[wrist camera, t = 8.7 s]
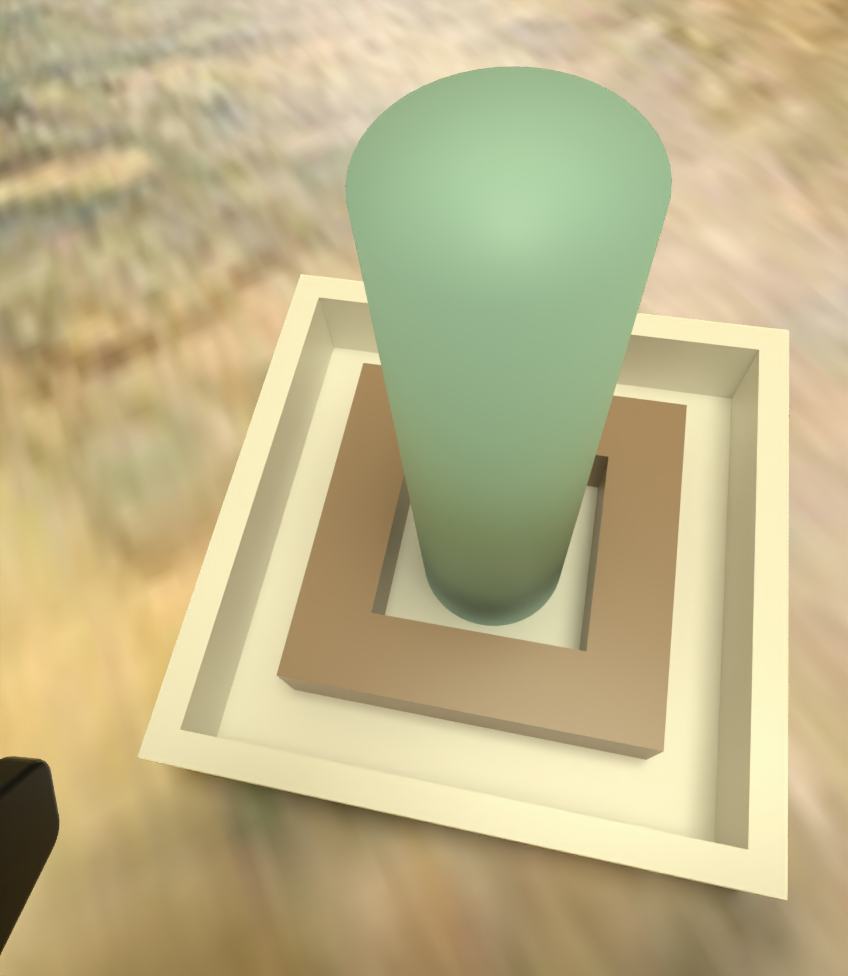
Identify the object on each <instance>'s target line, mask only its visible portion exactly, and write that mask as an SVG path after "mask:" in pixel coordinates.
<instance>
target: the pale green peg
mask: <svg viewBox="0 0 848 976" xmlns="http://www.w3.org/2000/svg"><path fill="white" fill-rule="evenodd" d="M671 186H672V177H671V168H670V163H669V160H668V156H667V153H666V150H665V148H664V146H663V144H662V141H661V139H660V137H659V135H658V134H657V133H656V131H655V130H654V128H653V127H652V126H651V124H650V123H649V121H648V120H647V119H646V118H645V117H644V116H643V115H642V114H641V113H640V112H639V111H638V110H637V109H636V108H634V107H633V106H632V105H631V104H630V103H628V102H627V101H626V100H625V99H623V98H622V97H620V96H618V95H617V94H615V93H613V92H612V91H610V90H609V89H607V88H604V87H602V86H600V85H598V84H596V83H594V82H592V81H589V80H586V79H583V78H580V77H578V76H575V75H571V74H567V73H563V72H559V71H554V70H548V69H541V68H532V67H494V68H486V69H478V70H473V71H468V72H463V73H459V74H455V75H452V76H449V77H445V78H442V79H439V80H437V81H434V82H432V83H429V84H427V85H425V86H422V87H421V88H419V89H417V90H415V91H413V92H411V93H409V94H407V95H406V96H404V97H403V98H401V99H400V100H398V101H397V102H396V103H394V104H393V105H391V106H390V107H389V108H388V109H387V110H386V111H384V112H383V113H382V114H381V115H380V116H379V117H378V118H377V119H376V120H375V121H374V122H373V123H372V124H371V126H370V127H369V128H368V129H367V131H366V132H365V133H364V135H363V136H362V138H361V139H360V141H359V142H358V144H357V146H356V149H355V151H354V153H353V155H352V157H351V160H350V164H349V167H348V170H347V178H346V185H345V187H346V203H347V207H348V212H349V217H350V221H351V226H352V231H353V236H354V240H355V245H356V250H357V254H358V259H359V264H360V268H361V273H362V278H363V282H364V287H365V292H366V297H367V301H368V306H369V311H370V315H371V320H372V325H373V329H374V334H375V339H376V343H377V348H378V353H379V357H380V362H381V367H382V372H383V376H384V381H385V386H386V390H387V395H388V400H389V404H390V409H391V414H392V418H393V423H394V428H395V433H396V437H397V442H398V447H399V451H400V456H401V461H402V465H403V470H404V475H405V479H406V484H407V489H408V494H409V498H410V503H411V508H412V512H413V517H414V522H415V526H416V531H417V536H418V540H419V545H420V550H421V554H422V559H423V564H424V569H425V573H426V578H427V580H428V583H429V586H430V588H431V589H432V591H433V593H434V595H435V596H436V597H437V599H438V600H439V601H440V602H441V603H442V604H443V606H444V607H446V608H447V609H448V610H449V611H450V612H452V613H453V614H455V615H456V616H458V617H460V618H462V619H464V620H466V621H469V622H472V623H475V624H480V625H486V626H501V625H508V624H512V623H516V622H519V621H521V620H524V619H526V618H528V617H529V616H531V615H533V614H534V613H536V612H537V611H538V610H539V609H541V608H542V607H543V606H544V605H545V604H546V602H547V601H548V600H549V599H550V598H551V596H552V594H553V593H554V591H555V589H556V587H557V584H558V582H559V579H560V575H561V572H562V569H563V565H564V562H565V558H566V555H567V551H568V548H569V545H570V541H571V538H572V534H573V531H574V528H575V524H576V521H577V517H578V514H579V510H580V507H581V504H582V500H583V497H584V493H585V490H586V487H587V483H588V480H589V476H590V473H591V469H592V466H593V463H594V459H595V456H596V452H597V449H598V445H599V442H600V439H601V435H602V432H603V428H604V425H605V422H606V418H607V415H608V411H609V408H610V404H611V401H612V398H613V394H614V391H615V387H616V384H617V381H618V377H619V374H620V370H621V367H622V363H623V360H624V357H625V353H626V350H627V346H628V343H629V340H630V336H631V333H632V329H633V326H634V322H635V319H636V316H637V312H638V309H639V305H640V302H641V298H642V295H643V292H644V288H645V285H646V281H647V278H648V275H649V271H650V268H651V264H652V261H653V257H654V254H655V251H656V247H657V244H658V240H659V237H660V234H661V230H662V227H663V223H664V220H665V216H666V213H667V209H668V205H669V201H670V198H671Z"/></svg>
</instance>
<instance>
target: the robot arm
mask: <svg viewBox="0 0 848 976" xmlns="http://www.w3.org/2000/svg"><path fill="white" fill-rule="evenodd" d="M58 831H59V814H58V809H57V803H56V797H55V792H54V786H53V780H52V775H51V770H50V767H49V766H48V764H47V763H46V762H45V761H43V760H41V759H36V758H26V757H16V756H12V757H5V758H2V759H0V954H1V952H2V950H3V948H4V946H5V944H6V942H7V940H8V938H9V936H10V934H11V932H12V930H13V928H14V926H15V924H16V922H17V920H18V918H19V916H20V914H21V912H22V910H23V908H24V906H25V904H26V902H27V900H28V898H29V896H30V894H31V892H32V890H33V888H34V886H35V884H36V882H37V880H38V878H39V876H40V874H41V872H42V870H43V867H44V865H45V863H46V861H47V859H48V857H49V855H50V853H51V851H52V849H53V847H54V845H55V842H56V839H57V836H58Z"/></svg>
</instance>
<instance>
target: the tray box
mask: <svg viewBox="0 0 848 976" xmlns="http://www.w3.org/2000/svg"><path fill="white" fill-rule="evenodd" d="M788 537H789V330H783V329H774V328H765V327H757V326H748V325H739V324H730V323H722V322H713V321H704V320H696V319H687V318H678V317H669V316H661V315H652V314H643V313H637V316H636V319H635V322H634V326H633V329H632V333H631V336H630V340H629V343H628V346H627V350H626V353H625V357H624V360H623V363H622V367H621V370H620V374H619V377H618V381H617V384H616V387H615V391H614V394H613V398H612V401H611V404H610V408H609V411H608V415H607V418H606V422H605V425H604V428H603V432H602V435H601V439H600V442H599V445H598V449H597V452H596V456H595V459H594V463H593V466H592V469H591V473H590V476H589V480H588V483H587V487H586V490H585V493H584V497H583V500H582V504H581V507H580V510H579V514H578V517H577V521H576V524H575V528H574V531H573V534H572V538H571V541H570V545H569V548H568V551H567V555H566V558H565V562H564V565H563V569H562V572H561V575H560V579H559V582H558V584H557V587H556V589H555V591H554V593H553V594H552V596H551V598H550V599H549V600H548V601H547V602H546V604H545V605H544V606H543V607H542V608H541V609H539V610H538V611H537V612H536V613H534V614H533V615H531V616H529V617H528V618H526V619H524V620H521V621H519V622H516V623H512V624H508V625H501V626H486V625H480V624H475V623H472V622H469V621H466V620H464V619H462V618H460V617H458V616H456V615H455V614H453V613H452V612H450V611H449V610H448V609H447V608H446V607H444V606H443V604H442V603H441V602H440V601H439V600H438V599H437V597H436V596H435V595H434V593H433V591H432V589H431V588H430V586H429V583H428V580H427V578H426V573H425V569H424V564H423V559H422V554H421V550H420V545H419V540H418V536H417V531H416V526H415V522H414V517H413V512H412V508H411V503H410V498H409V494H408V489H407V484H406V479H405V475H404V470H403V465H402V461H401V456H400V451H399V447H398V442H397V437H396V433H395V428H394V423H393V418H392V414H391V409H390V404H389V400H388V395H387V390H386V386H385V381H384V376H383V372H382V367H381V362H380V357H379V353H378V348H377V343H376V339H375V334H374V329H373V325H372V320H371V315H370V311H369V306H368V301H367V297H366V292H365V287H364V282H363V281H355V280H346V279H338V278H329V277H320V276H311V275H303V274H301V275H300V278H299V281H298V284H297V287H296V290H295V293H294V296H293V299H292V302H291V305H290V308H289V311H288V313H287V316H286V319H285V322H284V325H283V328H282V331H281V334H280V337H279V340H278V343H277V346H276V349H275V352H274V355H273V358H272V361H271V364H270V367H269V370H268V373H267V376H266V379H265V381H264V384H263V387H262V390H261V393H260V396H259V399H258V402H257V405H256V408H255V411H254V414H253V417H252V420H251V423H250V426H249V429H248V432H247V435H246V438H245V441H244V444H243V447H242V450H241V452H240V455H239V458H238V461H237V464H236V467H235V470H234V473H233V476H232V479H231V482H230V485H229V488H228V491H227V494H226V497H225V500H224V503H223V506H222V509H221V512H220V515H219V518H218V521H217V523H216V526H215V529H214V532H213V535H212V538H211V541H210V544H209V547H208V550H207V553H206V556H205V559H204V562H203V565H202V568H201V571H200V574H199V577H198V580H197V583H196V586H195V589H194V591H193V594H192V597H191V600H190V603H189V606H188V609H187V612H186V615H185V618H184V621H183V624H182V627H181V630H180V633H179V636H178V639H177V642H176V645H175V648H174V651H173V654H172V657H171V660H170V662H169V665H168V668H167V671H166V674H165V677H164V680H163V683H162V686H161V689H160V692H159V695H158V698H157V701H156V704H155V707H154V710H153V713H152V716H151V719H150V722H149V725H148V728H147V730H146V733H145V736H144V739H143V742H142V745H141V748H140V751H139V754H138V757H137V758H141V759H145V760H149V761H153V762H157V763H161V764H165V765H169V766H174V767H178V768H182V769H186V770H190V771H195V772H200V773H204V774H209V775H213V776H218V777H222V778H227V779H231V780H236V781H240V782H245V783H250V784H254V785H259V786H263V787H268V788H272V789H277V790H281V791H286V792H291V793H295V794H300V795H304V796H309V797H313V798H318V799H322V800H327V801H332V802H336V803H341V804H345V805H350V806H354V807H359V808H363V809H368V810H373V811H377V812H382V813H386V814H391V815H395V816H400V817H404V818H409V819H413V820H418V821H423V822H427V823H432V824H436V825H441V826H445V827H450V828H454V829H459V830H464V831H468V832H473V833H477V834H482V835H486V836H491V837H495V838H500V839H505V840H509V841H514V842H518V843H523V844H527V845H532V846H536V847H541V848H546V849H550V850H555V851H559V852H564V853H568V854H573V855H577V856H582V857H586V858H591V859H596V860H600V861H605V862H609V863H614V864H618V865H623V866H627V867H632V868H637V869H641V870H646V871H650V872H655V873H659V874H664V875H668V876H673V877H678V878H682V879H687V880H691V881H696V882H700V883H705V884H709V885H714V886H719V887H723V888H728V889H732V890H737V891H742V892H747V893H752V894H757V895H762V896H768V897H773V898H778V899H783V900H787V883H788Z"/></svg>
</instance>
